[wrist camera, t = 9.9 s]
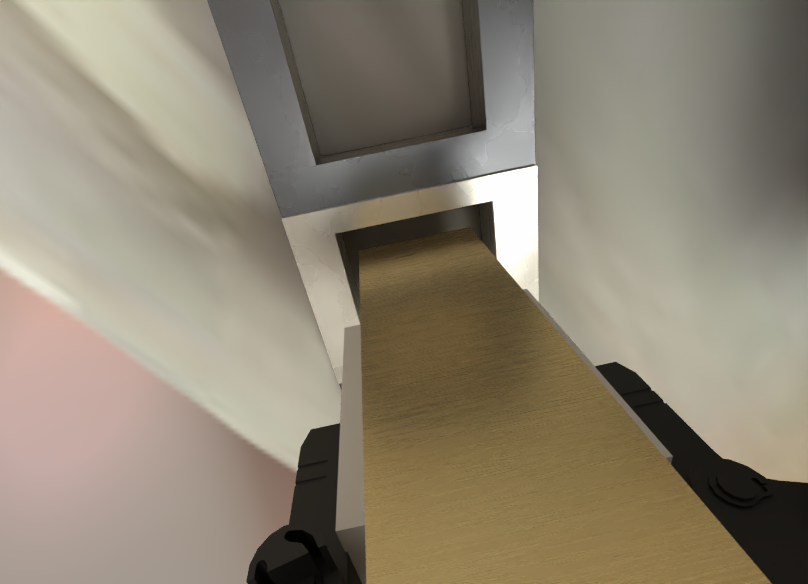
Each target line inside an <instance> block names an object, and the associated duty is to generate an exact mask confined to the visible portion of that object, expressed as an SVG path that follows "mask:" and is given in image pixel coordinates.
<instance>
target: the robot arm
mask: <svg viewBox="0 0 808 584" xmlns="http://www.w3.org/2000/svg"><path fill="white" fill-rule="evenodd" d="M523 291H524V292H525V293H526V294H527V295H528V296H529V298H530V299H531V300H532V301H533V302H534V304H535V305H536V306H537V307H538V308H539V309H540V311H541V312H542V313H543V314H544V315H545V317H546V318H547V319H548V320H549V321H550V322H551V324H552V325H553V326H554V327H555V328H556V329H557V331H558V332H559V333H560V334H561V335H562V337H563V338H564V339H565V340H566V341H567V342H568V344H569V345H570V346H571V347H572V348H573V350H574V351H575V352H576V353H577V354H578V355H579V357H580V358H581V359H582V360H583V361H584V363H585V364H586V365H587V366H588V367H589V368H590V370H591V371H592V372H593V373H594V374H595V376H596V377H597V378H598V379H599V380H600V381H601V383H602V384H603V385H604V386H605V387H606V388H607V390H608V391H609V392H610V393H611V394H612V396H613V397H614V398H615V399H616V400H617V401H618V403H619V404H620V405H621V406H622V407H623V409H624V410H625V411H626V412H627V413H628V414H629V416H630V417H631V418H632V419H633V420H634V422H635V423H636V424H637V425H638V426H639V427H640V429H641V430H642V431H643V432H644V433H645V435H646V436H647V437H648V438H649V439H650V440H651V442H652V443H653V444H654V445H655V446H656V447H657V449H658V450H659V451H660V452H661V453H662V455H663V456H664V457H665V458H666V459H667V460H668V462H669V463H670V464H671V465H672V466H673V468H674V469H675V470H676V471H677V472H678V473H679V475H680V476H681V477H682V478H683V479H684V481H685V482H686V483H687V484H688V485H689V486H690V488H691V489H692V490H693V491H694V492H695V493H696V495H697V496H698V497H699V498H700V499H701V501H702V502H703V503H704V504H705V505H706V506H707V508H708V509H709V510H710V511H711V512H712V514H713V515H714V516H715V517H716V518H717V519H718V521H719V522H720V523H721V524H722V525H723V527H724V528H725V529H726V530H727V531H728V532H729V534H730V535H731V536H732V537H733V538H734V540H735V541H736V542H737V543H738V544H739V545H740V547H741V548H742V549H743V550H744V551H745V552H746V554H747V555H748V556H749V557H750V558H751V560H752V561H753V562H754V563H755V564H756V565H757V567H758V568H759V569H760V570H761V571H762V573H763V574H764V575H765V576H766V577H767V578H768V580H769V581H770V582H771V583H772V584H808V483H801V482H789V481H778V480H772V479H766V478H765V477H764V476H762V475H761V474H759V473H757V472H756V471H754V470H753V469H751V468H749V467H748V466H745V465H743V464H740V463H737V462H735V461H732V460H729V459H723V458H721V457H720V456H719V455H718V454H717V453H716V452H714V451H713V450H712V449H711V448H710V447H709V446H708V445H707V444H706V443H705V442H704V441H703V440H702V439H701V438H700V437H699V436H698V435H697V434H696V433H695V432H694V431H693V430H692V429H691V428H690V427H689V426H688V425H687V424H686V423H685V422H684V421H683V420H682V419H681V418H680V417H679V416H678V415H677V414H676V413H675V412H674V411H673V410H672V409H671V408H670V407H669V406H668V405H667V404H666V403H664V402H663V400H662V399H661V398H660V397H659V396H658V395H657V394H656V393H655V392H654V391H652V390H651V388H650V387H649V386H648V385H647V384H646V383H645V382H644V381H643V380H642V379H641V378H640V377H639V376H638V375H637V374H636V373H635V372H633V371H632V370H630V369H628V368H626V367H624V366H622V365H621V364H619V363H617V362H613V363H608V364H604V365H599V366H594V365H593V364H592V363H591V362H590V361H589V359H588V358H587V357H586V356H585V355H584V354H583V353H582V351H581V350H580V349H579V348H578V347H577V346H576V344H575V343H574V342H573V341H572V340H571V339H570V338H569V336H568V335H567V334H566V333H565V332H564V331H563V330H562V328H561V327H560V326H559V325H558V324H557V323H556V322H555V320H554V319H553V318H552V317H551V316H550V315H549V313H548V312H547V311H546V310H545V309H544V308H543V307H542V305H541V304H540V303H539V302H538V301H537V300H536V299H535V297H534V296H533V295H532V294H531V293H530V292H529V291H528V289H523ZM247 583H248V584H366V548H365V503H364V459H363V414H362V370H361V325H355V326H351V327H346V328H344V351H343V373H342V395H341V418H340V423H339V424H334V425H330V426H325V427H321V428H316V429H312V430H310V432H309V434H308V436H307V437H306V439H305V441H304V443H303V444H302V446H301V449H300V456H299V463H298V470H297V476H296V486H295V489H294V496H293V502H292V509H291V516H290V522H289V525H286V526H283V527H282V528H280V529H279V530H277V531H276V532H274V533H272V534H271V535H270V536H269V537H268V538H267V539H266V540H265V541H264V542H263V544H262V545H261V546H260V547H259V548H258V549H257V551H256V553H255V555H254V557H253V559H252V561H251V563H250V566H249V571H248V576H247Z"/></svg>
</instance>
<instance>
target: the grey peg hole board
mask: <svg viewBox="0 0 808 584" xmlns="http://www.w3.org/2000/svg"><path fill="white" fill-rule="evenodd" d="M208 3H209V6H210V9H211V12H212V15H213V18H214V21H215V24H216V27H217V30H218V32H219V35H220V38H221V41H222V44H223V47H224V50H225V53H226V56H227V59H228V61H229V64H230V67H231V70H232V73H233V76H234V79H235V82H236V85H237V88H238V91H239V93H240V96H241V99H242V102H243V105H244V108H245V111H246V114H247V117H248V120H249V122H250V125H251V128H252V131H253V134H254V137H255V140H256V143H257V146H258V149H259V152H260V154H261V157H262V160H263V163H264V166H265V169H266V172H267V175H268V178H269V181H270V184H271V186H272V189H273V192H274V195H275V198H276V201H277V204H278V207H279V210H280V213H281V215H282V218H281V220H282V223H283V225H284V228H285V231H286V234H287V237H288V240H289V243H290V246H291V249H292V251H293V254H294V257H295V260H296V263H297V266H298V269H299V272H300V275H301V277H302V280H303V283H304V286H305V289H306V292H307V295H308V298H309V301H310V303H311V306H312V309H313V312H314V315H315V318H316V321H317V324H318V327H319V329H320V332H321V335H322V338H323V341H324V344H325V347H326V350H327V353H328V355H329V358H330V361H331V364H332V367H333V370H334V373H335V376H336V379H337V381H338V384H340V387H341V390H342V373H343V351H344V328H346V327H351V326H355V325H360V300H359V296H358V292H357V289H356V285H355V281H354V278H353V274H352V270H351V267H350V263H349V259H348V256H347V252H346V248H345V245H344V241H343V237H342V234H341V232H345V231H350V230H355V229H360V228H365V227H369V226H374V225H379V224H384V223H388V222H393V221H398V220H403V219H408V218H412V217H417V216H422V215H427V214H432V213H436V212H441V211H446V210H451V209H455V208H460V207H465V206H470V205H475V204H479V209H480V221H481V233H482V242H483V243H484V245H485V246H486V247H487V248H488V249H489V250H490V252H491V253H492V254H493V255H494V256H495V258H496V259H497V260H498V261H499V262H500V263H501V265H502V266H503V267H504V268H505V269H506V271H507V272H508V273H509V274H510V275H511V276H512V278H513V279H514V280H515V281H516V282H517V283H518V285H519V286H520V287H521V288H522V289H528V291H529V292H530V293H531V294H532V295H533V296H534V297H535V299H536V300H537V301H538V302H539V291H538V186H537V165H535V110H534V27H533V0H462V9H463V21H464V32H465V44H466V56H467V68H468V80H469V91H470V103H471V115H472V126H469V127H465V128H460V129H455V130H450V131H445V132H440V133H435V134H431V135H426V136H421V137H416V138H411V139H406V140H402V141H397V142H392V143H387V144H382V145H377V146H373V147H368V148H363V149H358V150H353V151H348V152H343V153H339V154H334V155H329V156H324V157H321V156H320V153H319V149H318V145H317V142H316V138H315V134H314V131H313V127H312V123H311V120H310V116H309V112H308V109H307V105H306V101H305V98H304V94H303V90H302V87H301V83H300V79H299V76H298V72H297V68H296V65H295V61H294V57H293V54H292V50H291V46H290V43H289V39H288V35H287V32H286V28H285V24H284V21H283V17H282V13H281V9H280V6H279V2H278V0H208Z"/></svg>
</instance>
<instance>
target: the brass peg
mask: <svg viewBox="0 0 808 584" xmlns="http://www.w3.org/2000/svg"><path fill="white" fill-rule="evenodd" d="M359 281H360V325H361V370H362V414H363V459H364V503H365V548H366V584H772V583H771V582H770V581H769V580H768V578H767V577H766V576H765V575H764V574H763V573H762V571H761V570H760V569H759V568H758V567H757V565H756V564H755V563H754V562H753V561H752V560H751V558H750V557H749V556H748V555H747V554H746V552H745V551H744V550H743V549H742V548H741V547H740V545H739V544H738V543H737V542H736V541H735V540H734V538H733V537H732V536H731V535H730V534H729V532H728V531H727V530H726V529H725V528H724V527H723V525H722V524H721V523H720V522H719V521H718V519H717V518H716V517H715V516H714V515H713V514H712V512H711V511H710V510H709V509H708V508H707V506H706V505H705V504H704V503H703V502H702V501H701V499H700V498H699V497H698V496H697V495H696V493H695V492H694V491H693V490H692V489H691V488H690V486H689V485H688V484H687V483H686V482H685V481H684V479H683V478H682V477H681V476H680V475H679V473H678V472H677V471H676V470H675V469H674V468H673V466H672V465H671V464H670V463H669V462H668V460H667V459H666V458H665V457H664V456H663V455H662V453H661V452H660V451H659V450H658V449H657V447H656V446H655V445H654V444H653V443H652V442H651V440H650V439H649V438H648V437H647V436H646V435H645V433H644V432H643V431H642V430H641V429H640V427H639V426H638V425H637V424H636V423H635V422H634V420H633V419H632V418H631V417H630V416H629V414H628V413H627V412H626V411H625V410H624V409H623V407H622V406H621V405H620V404H619V403H618V401H617V400H616V399H615V398H614V397H613V396H612V394H611V393H610V392H609V391H608V390H607V388H606V387H605V386H604V385H603V384H602V383H601V381H600V380H599V379H598V378H597V377H596V376H595V374H594V373H593V372H592V371H591V370H590V368H589V367H588V366H587V365H586V364H585V363H584V361H583V360H582V359H581V358H580V357H579V355H578V354H577V353H576V352H575V351H574V350H573V348H572V347H571V346H570V345H569V344H568V342H567V341H566V340H565V339H564V338H563V337H562V335H561V334H560V333H559V332H558V331H557V329H556V328H555V327H554V326H553V325H552V324H551V322H550V321H549V320H548V319H547V318H546V317H545V315H544V314H543V313H542V312H541V311H540V309H539V308H538V307H537V306H536V305H535V304H534V302H533V301H532V300H531V299H530V298H529V296H528V295H527V294H526V293H525V292H524V291H523V289H522V288H521V287H520V286H519V285H518V283H517V282H516V281H515V280H514V279H513V278H512V276H511V275H510V274H509V273H508V272H507V271H506V269H505V268H504V267H503V266H502V265H501V263H500V262H499V261H498V260H497V259H496V258H495V256H494V255H493V254H492V253H491V252H490V250H489V249H488V248H487V247H486V246H485V245H484V243H483V242H482V241H481V240H480V239H479V237H478V236H477V235H476V234H475V233H474V232H473V230H472V229H471V228H470V227H469V228H464V229H459V230H454V231H450V232H445V233H440V234H435V235H431V236H426V237H421V238H417V239H412V240H407V241H402V242H398V243H393V244H388V245H383V246H379V247H374V248H369V249H364V250H360V251H359Z"/></svg>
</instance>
